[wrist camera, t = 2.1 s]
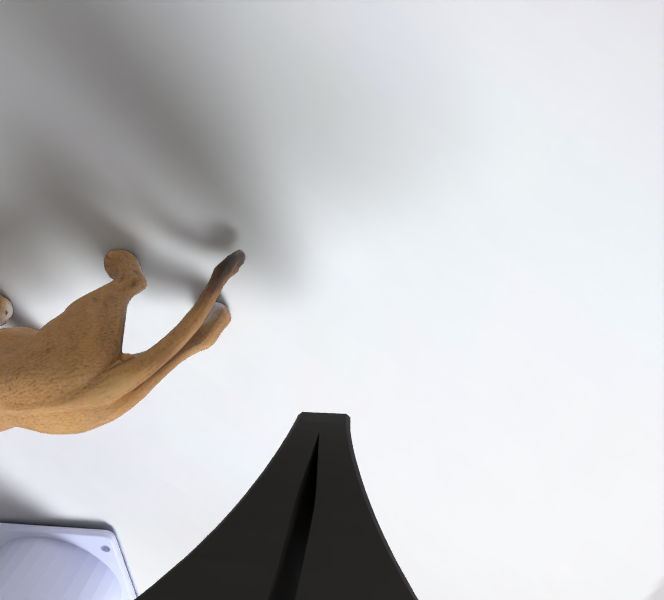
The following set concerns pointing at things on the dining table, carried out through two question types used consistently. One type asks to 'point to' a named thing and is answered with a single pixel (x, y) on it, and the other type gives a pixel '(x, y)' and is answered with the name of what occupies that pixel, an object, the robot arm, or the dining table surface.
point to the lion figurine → (98, 353)
